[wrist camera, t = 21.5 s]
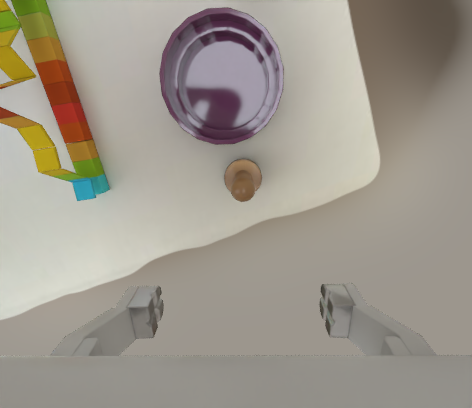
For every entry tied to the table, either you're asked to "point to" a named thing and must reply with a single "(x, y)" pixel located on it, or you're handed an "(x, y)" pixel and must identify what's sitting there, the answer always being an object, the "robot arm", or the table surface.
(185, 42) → the bowl
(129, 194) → the table surface
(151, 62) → the table surface
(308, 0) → the table surface
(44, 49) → the chart
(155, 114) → the table surface
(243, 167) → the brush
